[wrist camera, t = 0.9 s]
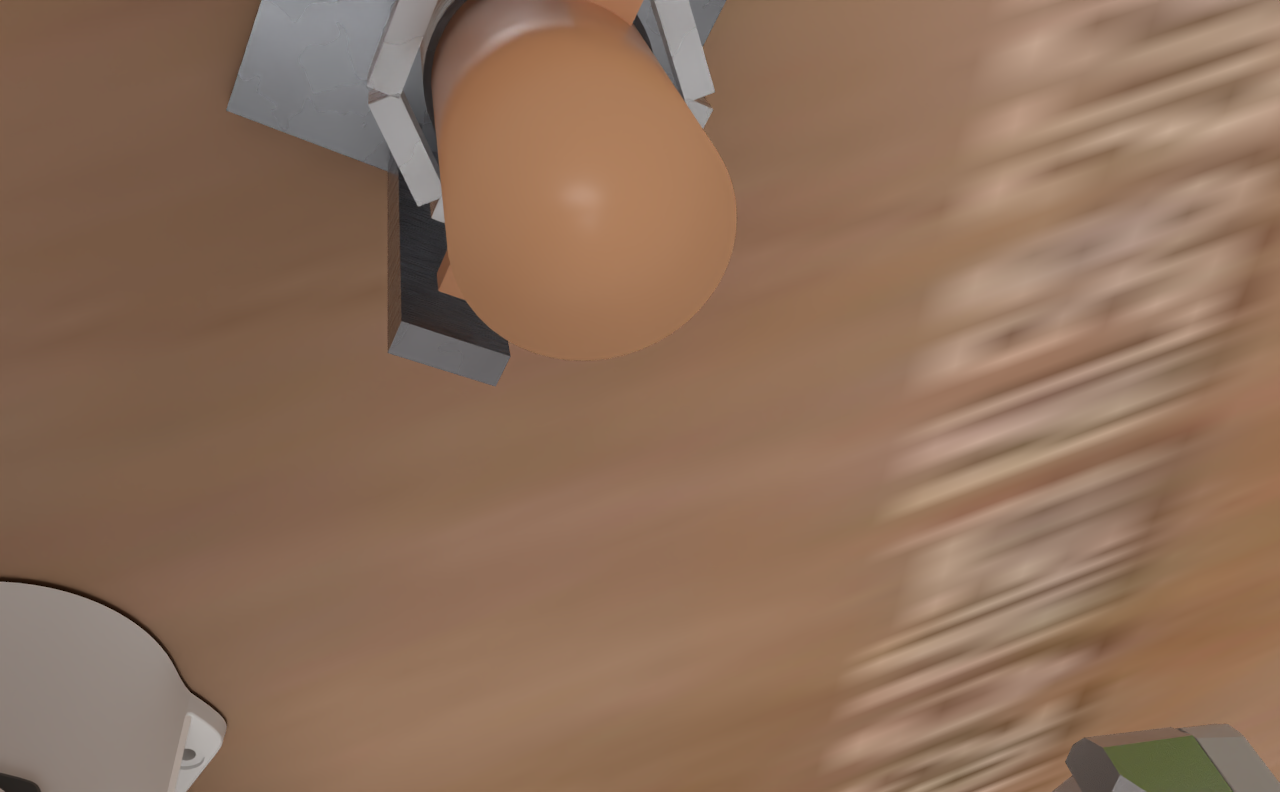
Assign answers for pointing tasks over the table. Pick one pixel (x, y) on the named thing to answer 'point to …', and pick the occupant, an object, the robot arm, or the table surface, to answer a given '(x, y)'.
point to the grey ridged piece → (413, 134)
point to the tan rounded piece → (573, 179)
